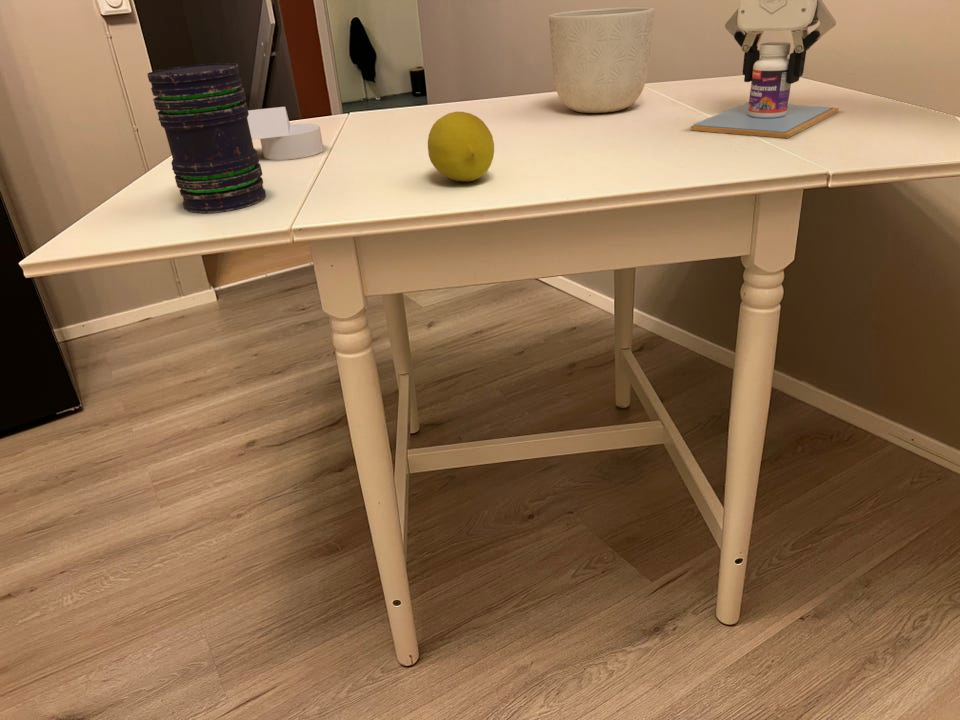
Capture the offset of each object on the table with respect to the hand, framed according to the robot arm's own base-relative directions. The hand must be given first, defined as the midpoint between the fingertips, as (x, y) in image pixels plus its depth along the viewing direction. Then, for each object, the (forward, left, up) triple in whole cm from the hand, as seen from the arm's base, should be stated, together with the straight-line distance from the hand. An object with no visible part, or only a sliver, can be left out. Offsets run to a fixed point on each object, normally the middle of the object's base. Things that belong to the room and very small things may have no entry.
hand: (771, 80), depth 102 cm
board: (0, 0, -6) cm, 6 cm away
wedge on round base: (+55, +48, -6) cm, 73 cm away
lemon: (+19, +46, -6) cm, 50 cm away
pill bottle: (0, 0, -5) cm, 5 cm away
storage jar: (+39, +67, -6) cm, 78 cm away
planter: (+29, 0, -6) cm, 30 cm away
